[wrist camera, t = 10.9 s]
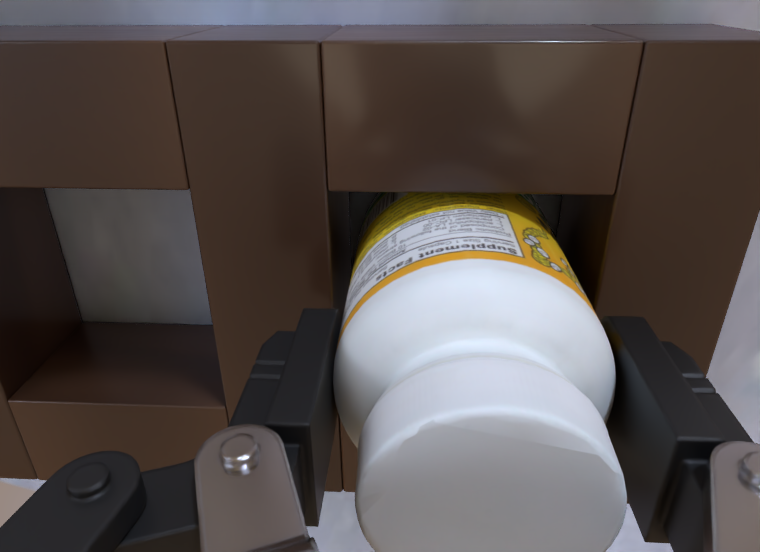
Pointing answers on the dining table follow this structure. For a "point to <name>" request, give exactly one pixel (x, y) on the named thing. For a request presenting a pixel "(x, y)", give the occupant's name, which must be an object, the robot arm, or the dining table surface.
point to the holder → (339, 177)
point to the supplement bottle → (475, 382)
